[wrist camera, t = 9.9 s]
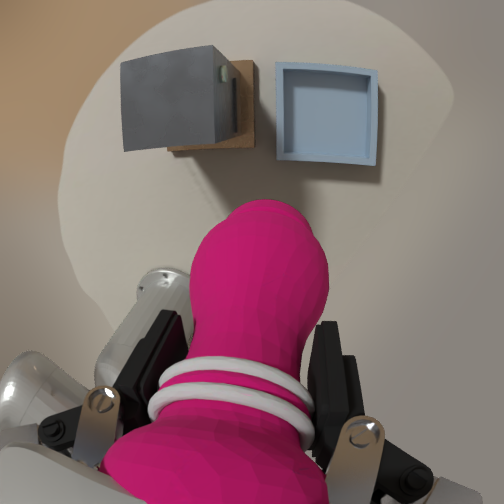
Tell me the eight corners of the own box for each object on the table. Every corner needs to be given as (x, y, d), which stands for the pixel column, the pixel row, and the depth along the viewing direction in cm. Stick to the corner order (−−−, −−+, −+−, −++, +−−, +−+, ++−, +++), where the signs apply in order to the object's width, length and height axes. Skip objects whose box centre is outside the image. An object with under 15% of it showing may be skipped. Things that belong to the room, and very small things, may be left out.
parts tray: (369, 162, 32) (375, 165, 30) (277, 157, 34) (276, 160, 31) (371, 73, 27) (377, 70, 25) (276, 66, 29) (275, 62, 26)
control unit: (255, 146, 33) (235, 162, 21) (170, 150, 35) (111, 170, 22) (253, 61, 29) (232, 26, 16) (167, 70, 30) (106, 52, 17)
